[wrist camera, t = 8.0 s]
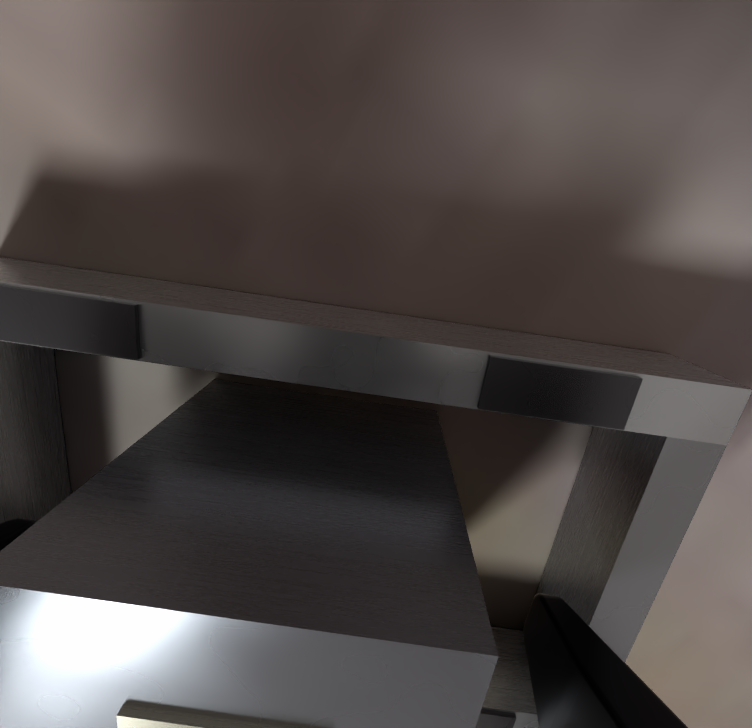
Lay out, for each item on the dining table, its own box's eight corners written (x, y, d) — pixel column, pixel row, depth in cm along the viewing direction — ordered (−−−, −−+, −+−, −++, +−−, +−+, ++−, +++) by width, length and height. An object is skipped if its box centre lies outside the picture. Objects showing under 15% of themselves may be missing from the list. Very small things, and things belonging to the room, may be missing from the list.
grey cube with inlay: (436, 409, 9) (500, 667, 4) (401, 581, 10) (410, 940, 5) (215, 378, 9) (-49, 590, 4) (213, 555, 10) (27, 886, 5)
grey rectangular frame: (669, 353, 8) (758, 392, 6) (549, 662, 11) (584, 757, 9) (-6, 255, 8) (-136, 263, 6) (47, 591, 11) (-30, 670, 9)
